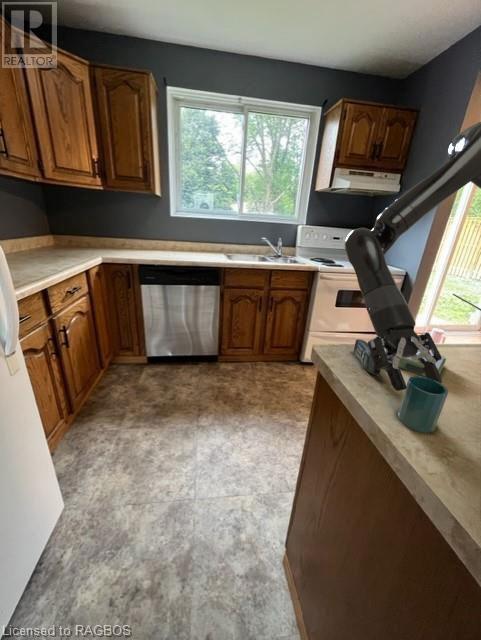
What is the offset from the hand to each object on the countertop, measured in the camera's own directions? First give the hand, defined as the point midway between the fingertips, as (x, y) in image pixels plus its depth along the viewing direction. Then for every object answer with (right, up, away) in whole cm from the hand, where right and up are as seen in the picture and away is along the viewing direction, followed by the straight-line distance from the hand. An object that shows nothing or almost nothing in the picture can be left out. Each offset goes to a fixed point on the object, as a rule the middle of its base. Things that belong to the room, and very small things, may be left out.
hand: (419, 387), depth 52 cm
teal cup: (0, -7, +1) cm, 7 cm away
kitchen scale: (+14, 0, +22) cm, 27 cm away
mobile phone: (0, 0, +21) cm, 21 cm away
